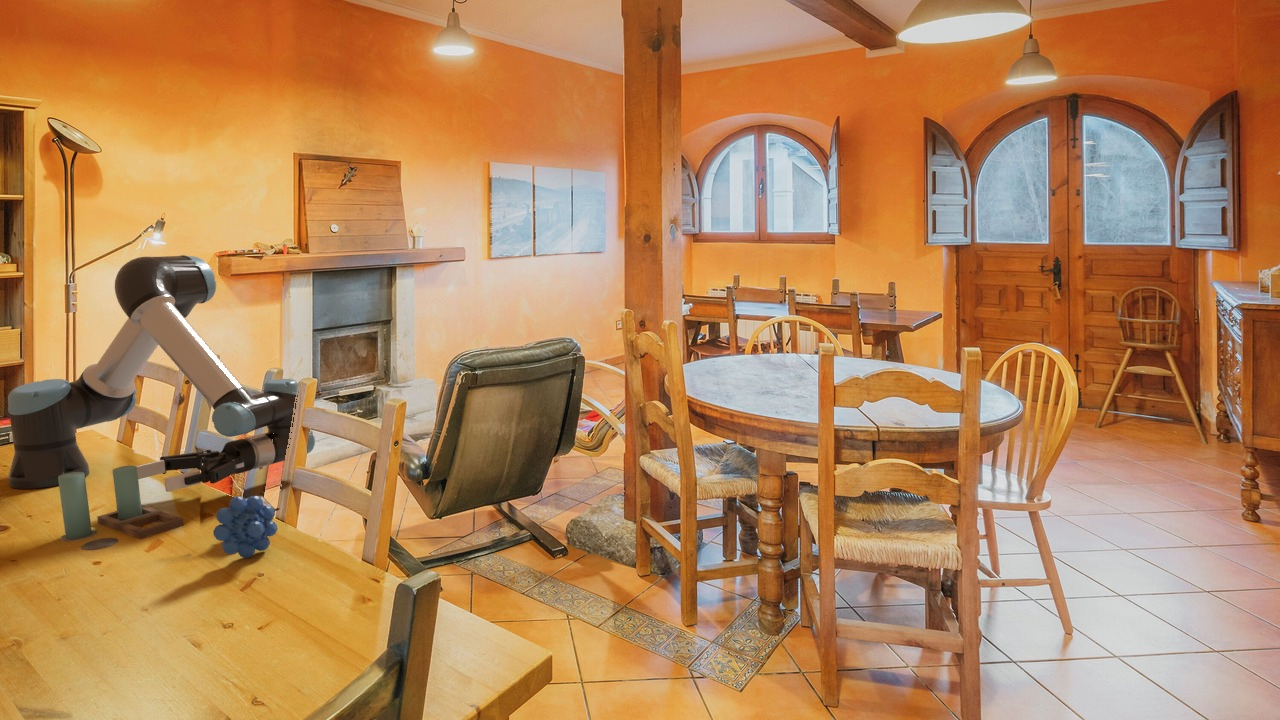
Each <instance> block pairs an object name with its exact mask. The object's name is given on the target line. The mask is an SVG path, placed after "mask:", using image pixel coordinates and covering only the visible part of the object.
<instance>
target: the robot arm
mask: <svg viewBox="0 0 1280 720" xmlns="http://www.w3.org/2000/svg"><path fill="white" fill-rule="evenodd" d="M115 276H116V277H115V279H114V292H115V293H114V294H115V297H116V300H117V302H118V304H119V306H120V307H121V309H122V311H123V312H124V313H125V315H126V316H127V317H128V318H127V320H126V321H125V322H124V324H123V325H122V327H121V328H120V329H119V331H118V332H117V334H116V335H115V336H114V338H113V340H112V341H111V342H110V344H109V346H108V347H107V349H106V350H105V352H104V353H103V355H102V356H101V357H100V359H99V361H98V362H97V363H94V364H90V365H88V366H87V367H86V368H85V369H84V370H83V372H82V373H81V374H80V376H79V377H78V378H77V379H76V380H75V381H71V382H69V381H68V380H66V379H63V378H54V379H53V378H49V379H45V380H41V381H39V380H38V381H34V382H33V381H32V382H29V383H25V384H21V385H19V386H17V387H15V388H13V389H12V390H11V391H10V392H9V393H8V396H7V403H8V405H7V406H8V407H7V411H8V413H9V419H10V427H11V434H12V440H13V441H12V442H13V449H14V454H13V457H12V458H13V459H12V462H11V466H10V469H9V473H8V485H9V487H10V488H13V489H20V490H31V489H32V490H33V489H42V488H43V489H44V488H50V487H56V486H59V481H58V476H60V475H62V474H66V473H71V472H84V473H85V476H86V475H87V476H89V475H90V466H89V463H88V461H87V459H86V458H85V456H84V454H83V452H82V450H81V449H80V447H79V445H78V441H77V436H76V430H78V429H79V430H80V429H83V428H86V427H91V426H95V425H98V424H102V423H103V424H104V423H106V422H108V423H109V422H112V421H115V420H116V421H117V420H118V419H120V418H123V417H124V416H126V415H128V414H129V413H130V412H131V411H132V410H133V409H134V407H135V405H136V402H137V396H136V395H137V394H138V393H137V389H136V384H135V381H134V380H135V379H136V377H137V375H138V374H139V373H140V372H141V370H142V369H143V367H144V366H145V364H146V363H147V362H148V361H149V359H150V357H151V356H152V355H153V353H154V351H155V350H156V349H157V348H158V346H159V347H160V348H161V349H162V350H163V351H164V353H165V354H166V355H167V356H168V357H169V358H170V360H171V361H172V362H173V363H174V365H175V366H177V368H178V369H179V370H180V371H181V372H182V373H183V374H182V375H184V376H185V377H186V378H187V380H189V382H190V384H192V385H193V387H194V388H195V389H196V390H197V391H198V392H199V394H200V395H201V396H202V397H203V398H204V399H205V401H207V403H208V404H209V405H210V406H211V408H213V412H212V414H211V415H212V416H211V422H212V423H213V425H214V426H213V427H214V429H215V430H216V431H217V432H218V433H219V434H220V435H221V436H224V437H227V438H233V437H239V436H241V435H247V434H249V433H251V432H254V431H256V430H259V429H261V428H262V429H263V428H265V427H267V432H265V433H261V434H260V433H259V434H256V435H252V436H251V435H250V436H247V437H245V438H240V439H235V440H231V441H228V442H226V443H225V444H224V446H223V448H222V450H221V451H219V450H216V451H215V450H214V451H213V450H211V449H207V450H203V451H197V452H189V453H183V454H182V453H181V454H174V455H167V456H163V455H162V456H160V457H159V460H158V461H152V462H149V463H144V464H141V465H136V466H137V473H138V480H141V479H146V478H149V477H153V476H154V477H155V476H157V475H161V474H162V475H165V474H167V473H168V471H180V470H187V469H188V470H189V469H190V470H191V469H196V470H192V471H189V472H185V473H184V472H183V473H181V474H177V475H173V476H169V477H165V478H164V489H165V492H166V493H169V492H173V491H177V490H181V489H184V488H187V487H191V486H195V485H199V484H201V483H203V484H207V483H209V484H212V485H213V484H216V483H219V482H220V481H222V480H224V479H226V478H228V477H230V476H232V475H238V474H242V473H245V472H249V471H252V470H255V469H259V470H263V469H264V467H267V466H270V465H273V464H277V463H281V462H285V455H286V449H287V445H288V439H289V433H290V427H291V421H292V415H293V408H294V402H295V397H296V392H297V387H298V386H299V382H298V381H297V380H295V379H293V378H292V379H291V378H277V379H271V380H268V381H266V382H265V383H264V384H263V392H262V393H257V394H254V395H251V394H250V393H249V392H248V390H246V388H245V387H244V386H243V384H242V383H241V382H240V381H239V380H238V379H237V378H236V376H234V374H233V373H232V371H231V370H229V368H228V367H227V366H226V365H225V364H224V362H223V361H222V360H221V359H220V358H219V356H218V355H217V354H216V353H215V351H214V350H213V349H212V348H211V347H210V346H209V345H208V344H207V342H205V340H204V339H203V338H202V336H201V335H200V334H199V333H198V332H197V331H196V330H195V328H194V327H193V326H192V325H191V324H190V322H189V321H188V320H187V317H188V316H189V315H190V314H191V312H192V310H193V309H194V308H195V307H196V305H197V304H205V303H207V302H209V301H211V299H212V298H213V297H214V295H215V293H216V290H217V280H216V279H215V278H216V276H215V273H214V271H213V269H212V268H211V266H210V265H209V264H208V262H206V261H205V260H204V259H202V258H201V257H198V256H193V255H185V254H182V255H168V256H165V255H164V256H141V257H135V258H134V259H131V260H129V261H128V262H126V263H125V264H123V265H122V266H121V267H120V269H119V270H118V272H117V274H116V275H115ZM298 393H300V390H299V391H298ZM297 397H298V395H297ZM296 400H297V399H296ZM296 402H297V401H296ZM295 409H296V403H295ZM294 415H295V413H294ZM293 422H294V417H293ZM292 427H293V423H292ZM273 433H274V434H273ZM291 433H292V432H291ZM272 439H273V442H272ZM290 439H291V438H290ZM271 444H272V447H271ZM315 444H316V437H315V435H314V433H313V429H311V431H310V432H309V438H308V445H307V454H306V455H308V454H310V453H311V452H312V451H313V450H314V447H315ZM289 445H290V444H289ZM288 448H289V447H288ZM270 450H271V452H270ZM268 461H269V464H268ZM87 476H86V477H87Z"/></svg>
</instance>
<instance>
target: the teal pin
mask: <svg viewBox="0 0 1280 720" xmlns="http://www.w3.org/2000/svg"><path fill="white" fill-rule="evenodd" d="M137 466H138V465H123V466H118V467H115V468H113V469H112V478H113V479H112V480H113V488H114V495H115V504H116V509H117V510H116V511H117V513H118V519H117V520H120V521H123V520H127V519H130V518H133V517H137V516H140V515H142V508H141V505H142V501H141V494H140V493H141V492H140V484H139V479H138V473H137Z"/></svg>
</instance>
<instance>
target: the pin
mask: <svg viewBox="0 0 1280 720" xmlns="http://www.w3.org/2000/svg"><path fill="white" fill-rule="evenodd" d="M58 481H59V485H58V487H59V496H60V503H61V504H60V505H61V510H62V518H63V519H62V520H63V525H64V528H63V529H64V535H66V539H79V538H83V537H86V536H89V535H91V534H92V530H93V529H92V523H91V514H90V506H89V498H88V491H87V483H86V477H85V473H84V472H71V473H66V474H62V475H60V476H58Z"/></svg>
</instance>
